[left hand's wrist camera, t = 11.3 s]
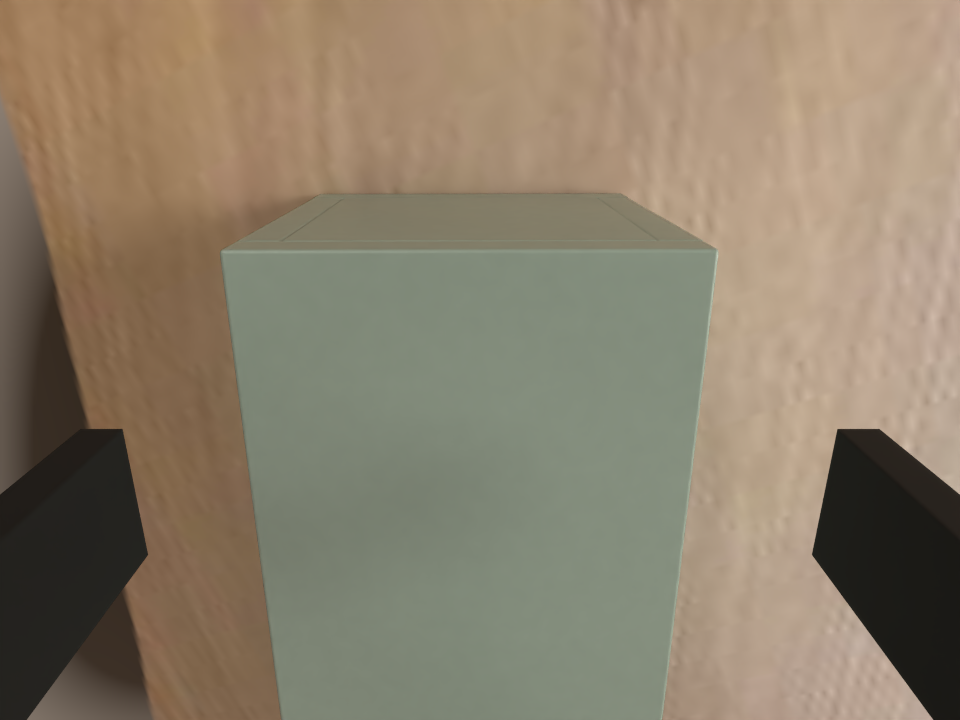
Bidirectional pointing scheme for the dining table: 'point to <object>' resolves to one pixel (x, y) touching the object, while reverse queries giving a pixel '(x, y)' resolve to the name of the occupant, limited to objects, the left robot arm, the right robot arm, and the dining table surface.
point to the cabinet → (470, 450)
